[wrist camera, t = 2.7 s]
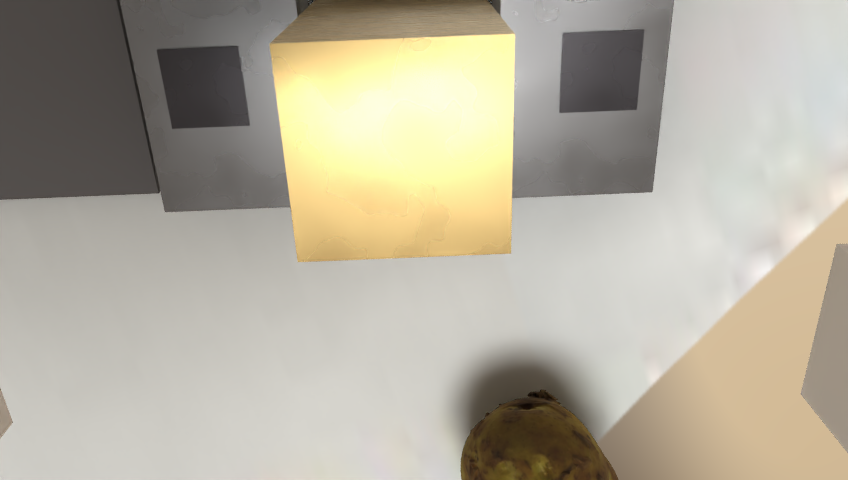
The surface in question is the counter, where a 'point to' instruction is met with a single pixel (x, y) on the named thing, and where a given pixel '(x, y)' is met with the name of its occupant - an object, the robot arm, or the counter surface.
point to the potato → (533, 444)
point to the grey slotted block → (533, 96)
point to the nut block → (397, 128)
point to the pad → (70, 103)
